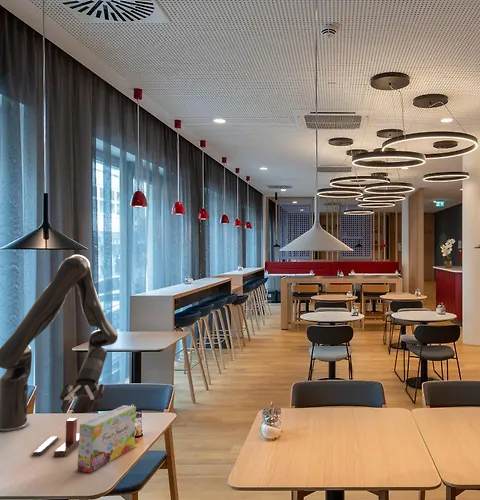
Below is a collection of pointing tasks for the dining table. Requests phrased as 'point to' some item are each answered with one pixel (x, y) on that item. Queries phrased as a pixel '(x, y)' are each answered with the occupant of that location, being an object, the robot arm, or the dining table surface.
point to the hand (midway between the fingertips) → (75, 411)
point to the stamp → (69, 439)
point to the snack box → (106, 438)
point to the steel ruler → (45, 446)
